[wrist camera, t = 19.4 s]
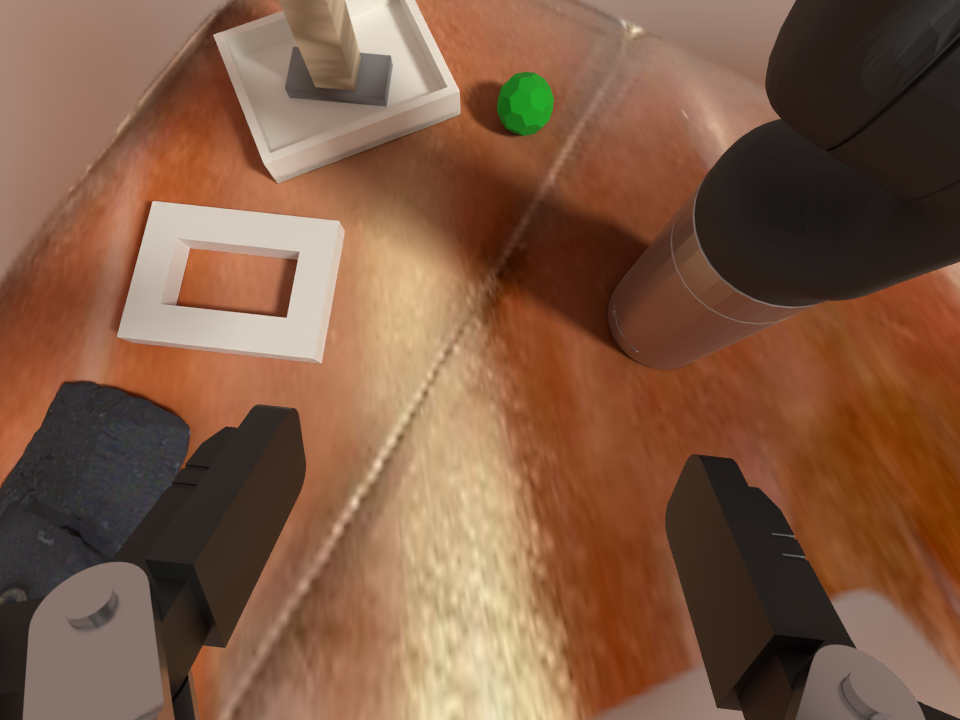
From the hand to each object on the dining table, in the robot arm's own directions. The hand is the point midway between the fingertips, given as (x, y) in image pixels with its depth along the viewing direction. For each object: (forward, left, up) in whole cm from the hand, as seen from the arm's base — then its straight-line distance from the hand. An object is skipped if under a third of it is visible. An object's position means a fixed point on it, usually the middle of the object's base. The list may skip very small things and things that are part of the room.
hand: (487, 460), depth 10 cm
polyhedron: (-16, -27, -31) cm, 44 cm away
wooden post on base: (-2, -37, -30) cm, 47 cm away
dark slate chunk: (+30, -8, -31) cm, 44 cm away
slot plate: (+13, -22, -31) cm, 40 cm away
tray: (-2, -37, -31) cm, 48 cm away
